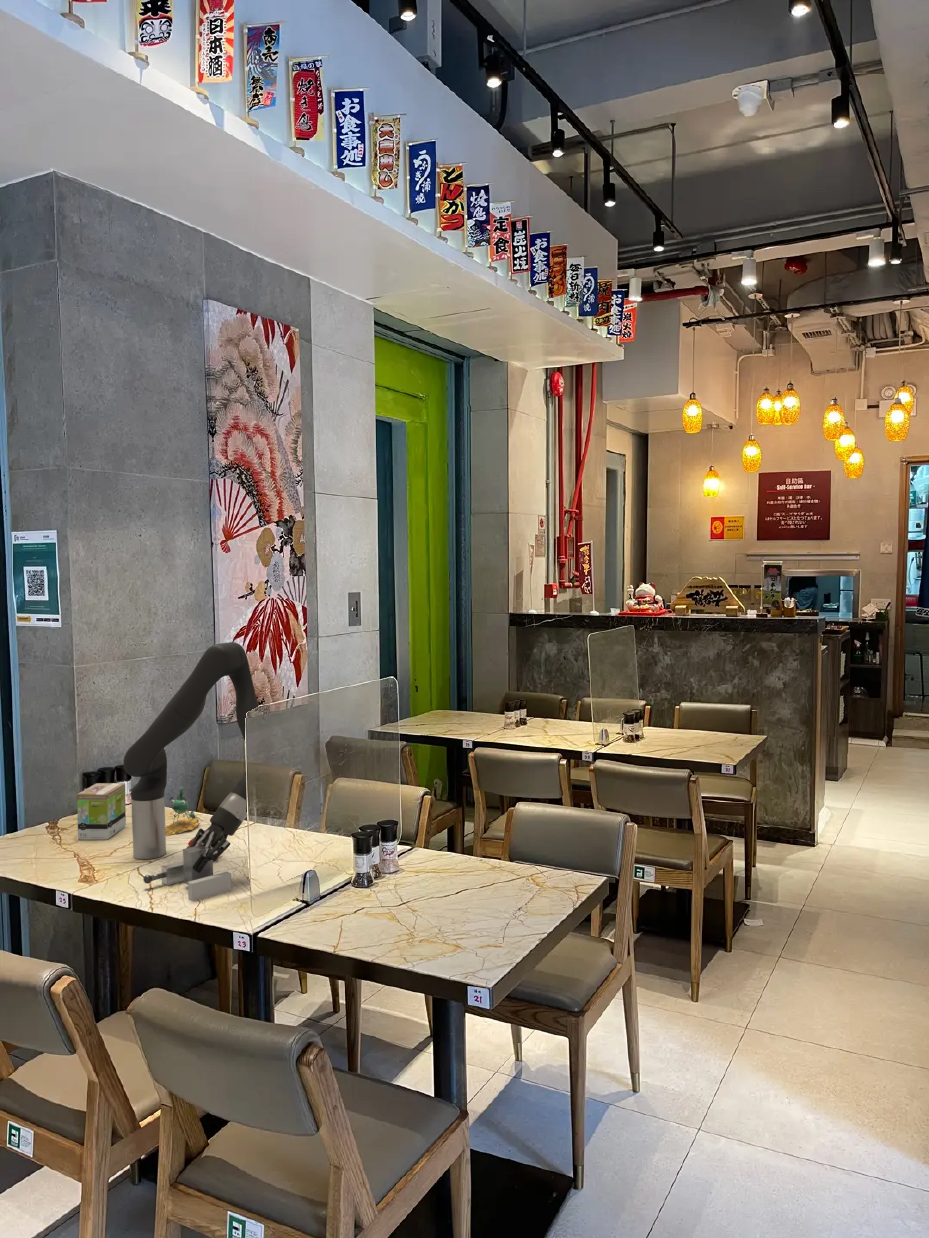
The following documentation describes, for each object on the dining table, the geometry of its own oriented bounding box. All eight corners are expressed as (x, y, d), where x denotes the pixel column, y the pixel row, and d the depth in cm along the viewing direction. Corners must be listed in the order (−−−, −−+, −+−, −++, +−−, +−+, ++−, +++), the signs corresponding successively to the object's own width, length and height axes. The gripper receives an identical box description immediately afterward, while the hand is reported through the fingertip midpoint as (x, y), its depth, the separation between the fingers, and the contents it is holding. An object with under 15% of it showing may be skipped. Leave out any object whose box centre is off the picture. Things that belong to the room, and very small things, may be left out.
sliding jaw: (141, 888, 246) (140, 871, 246) (196, 873, 256) (196, 857, 256) (146, 890, 244) (145, 873, 243) (201, 876, 254) (201, 860, 254)
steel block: (184, 882, 246) (182, 849, 246) (205, 877, 250) (203, 844, 250) (192, 887, 243) (191, 852, 242) (213, 881, 247) (212, 847, 246)
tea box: (109, 840, 293) (107, 793, 292) (77, 840, 293) (75, 793, 292) (127, 826, 308) (125, 781, 307) (96, 826, 308) (94, 782, 307)
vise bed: (153, 884, 252) (152, 863, 252) (191, 874, 260) (190, 854, 259) (192, 905, 236) (191, 883, 236) (231, 894, 244) (230, 873, 243)
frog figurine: (214, 823, 310) (210, 780, 308) (175, 844, 295) (170, 799, 292) (192, 819, 315) (188, 777, 312) (152, 840, 299) (147, 795, 296)
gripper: (208, 801, 256) (168, 854, 248) (235, 811, 245) (194, 867, 238) (227, 816, 260) (188, 869, 252) (254, 826, 249) (214, 882, 242)
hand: (191, 868), depth 245 cm, fingers closed on steel block, 4 cm apart
